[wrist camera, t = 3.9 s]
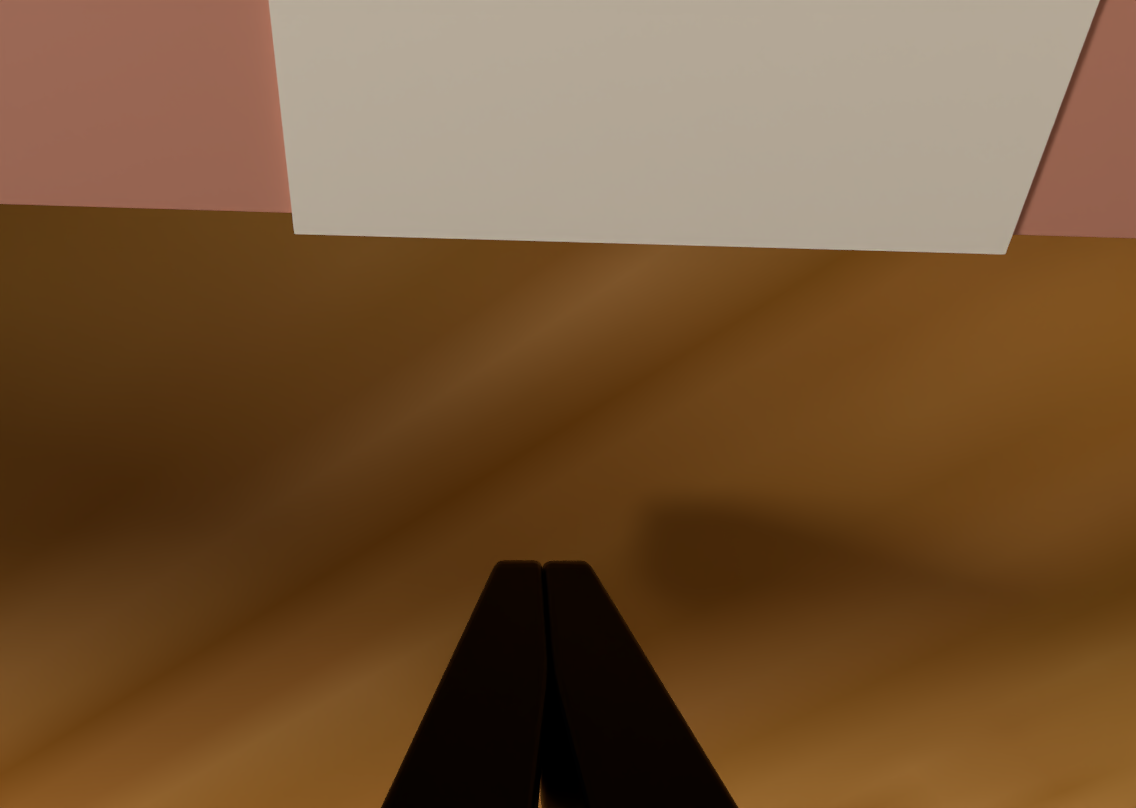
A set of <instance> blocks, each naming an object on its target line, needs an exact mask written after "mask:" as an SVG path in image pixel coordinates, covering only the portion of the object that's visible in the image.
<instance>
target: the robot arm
mask: <svg viewBox="0 0 1136 808" xmlns="http://www.w3.org/2000/svg"><path fill="white" fill-rule="evenodd" d="M539 791H540V793H541V805H542V808H738V806H737V805H736V803H735V802H734V800H733V798H732V797H731V795H730V793H729V792H728V790H727V788H726V787H725V785H724V783H723V782H722V780H721V779H720V777H719V775H718V774H717V772H716V770H715V769H714V767H713V765H712V764H711V762H710V760H709V759H708V757H707V756H706V754H705V752H704V751H703V749H702V747H701V746H700V744H699V742H698V741H697V739H696V737H695V736H694V734H693V733H692V731H691V729H690V728H689V726H688V724H687V723H686V721H685V719H684V718H683V716H682V714H681V713H680V711H679V710H678V708H677V706H676V705H675V703H674V701H673V700H672V698H671V696H670V695H669V693H668V691H667V690H666V688H665V687H664V685H663V683H662V682H661V680H660V678H659V677H658V675H657V673H656V672H655V670H654V668H653V667H652V665H651V664H650V662H649V660H648V659H647V657H646V655H645V654H644V652H643V650H642V649H641V647H640V645H639V644H638V642H637V641H636V639H635V637H634V636H633V634H632V632H631V631H630V629H629V627H628V626H627V624H626V622H625V621H624V619H623V618H622V616H621V614H620V613H619V611H618V609H617V608H616V606H615V604H614V603H613V601H612V599H611V598H610V596H609V595H608V593H607V591H606V590H605V588H604V586H603V585H602V583H601V581H600V580H599V578H598V576H597V575H596V573H595V572H594V570H593V569H592V567H591V566H590V565H589V564H588V563H586V562H585V561H548V562H546V563H545V564H544V566H543V568H542V566H541V564H540V563H539V562H537V561H534V560H503V561H500V562H498V563H497V564H496V565H495V566H494V568H493V570H492V572H491V574H490V576H489V578H488V580H487V582H486V585H485V587H484V589H483V591H482V593H481V595H480V597H479V600H478V602H477V604H476V606H475V608H474V610H473V612H472V614H471V617H470V619H469V621H468V623H467V625H466V627H465V629H464V632H463V634H462V636H461V638H460V640H459V642H458V644H457V647H456V649H455V651H454V653H453V655H452V657H451V659H450V661H449V664H448V666H447V668H446V670H445V672H444V674H443V676H442V679H441V681H440V683H439V685H438V687H437V689H436V691H435V694H434V696H433V698H432V700H431V702H430V704H429V706H428V708H427V711H426V713H425V715H424V717H423V719H422V721H421V723H420V726H419V728H418V730H417V732H416V734H415V736H414V738H413V740H412V743H411V745H410V747H409V749H408V751H407V753H406V755H405V758H404V760H403V762H402V764H401V766H400V768H399V770H398V773H397V775H396V777H395V779H394V781H393V783H392V785H391V787H390V790H389V792H388V794H387V796H386V798H385V800H384V802H383V805H382V807H381V808H538V802H539Z"/></svg>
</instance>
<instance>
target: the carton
mask: <svg viewBox="0 0 1136 808" xmlns="http://www.w3.org/2000/svg"><path fill="white" fill-rule="evenodd" d="M0 204H19V205H52V206H86V207H119V208H152V209H185V210H218V211H251V212H284V213H292V218H293V227H294V234H309V235H344V236H379V237H414V238H449V239H484V240H519V241H554V242H589V243H624V244H659V245H694V246H729V247H764V248H799V249H834V250H869V251H904V252H938V253H973V254H1006V251H1007V248H1008V246H1009V243H1010V240H1011V238H1012V235H1046V236H1079V237H1112V238H1136V0H0Z"/></svg>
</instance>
